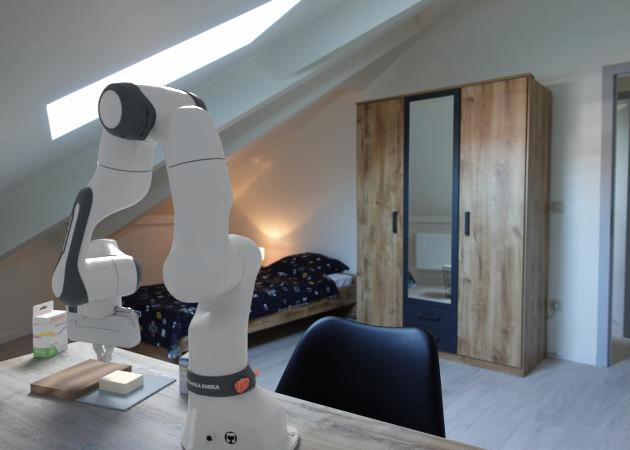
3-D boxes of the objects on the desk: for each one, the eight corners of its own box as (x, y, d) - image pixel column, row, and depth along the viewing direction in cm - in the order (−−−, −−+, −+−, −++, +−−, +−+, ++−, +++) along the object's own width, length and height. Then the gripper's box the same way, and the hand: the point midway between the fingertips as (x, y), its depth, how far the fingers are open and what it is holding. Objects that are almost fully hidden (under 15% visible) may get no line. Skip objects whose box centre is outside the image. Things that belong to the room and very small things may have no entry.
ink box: (47, 358, 135) (45, 307, 134) (32, 357, 136) (30, 306, 135) (69, 348, 144) (67, 300, 143) (55, 347, 145) (53, 299, 144)
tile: (143, 384, 116) (143, 374, 116) (125, 394, 111) (125, 383, 111) (117, 379, 119) (117, 370, 119) (99, 389, 114) (98, 379, 113)
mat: (176, 380, 120) (176, 378, 120) (124, 411, 103) (124, 409, 103) (131, 372, 125) (131, 371, 125) (75, 401, 108) (75, 399, 108)
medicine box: (194, 380, 120) (193, 347, 119) (210, 382, 119) (210, 348, 118) (178, 393, 112) (178, 357, 112) (196, 395, 111) (195, 359, 111)
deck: (131, 372, 125) (131, 365, 125) (75, 401, 108) (75, 392, 108) (90, 365, 130) (90, 358, 130) (30, 391, 113) (30, 383, 113)
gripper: (145, 305, 115) (147, 361, 116) (81, 299, 122) (84, 352, 123) (126, 311, 109) (128, 370, 110) (60, 305, 116) (63, 360, 117)
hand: (104, 361), depth 116 cm, fingers closed
